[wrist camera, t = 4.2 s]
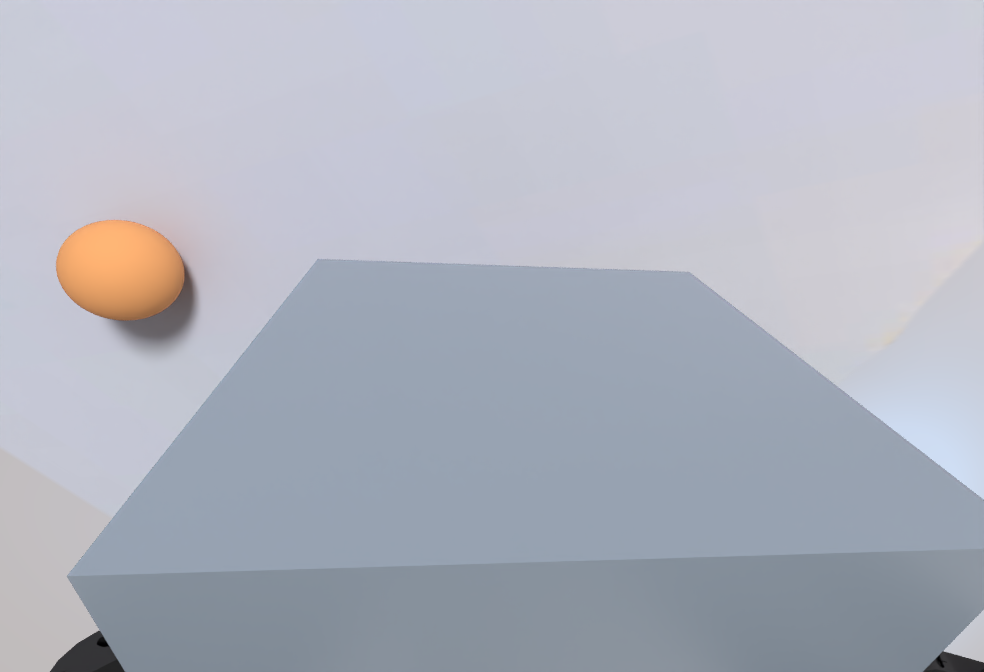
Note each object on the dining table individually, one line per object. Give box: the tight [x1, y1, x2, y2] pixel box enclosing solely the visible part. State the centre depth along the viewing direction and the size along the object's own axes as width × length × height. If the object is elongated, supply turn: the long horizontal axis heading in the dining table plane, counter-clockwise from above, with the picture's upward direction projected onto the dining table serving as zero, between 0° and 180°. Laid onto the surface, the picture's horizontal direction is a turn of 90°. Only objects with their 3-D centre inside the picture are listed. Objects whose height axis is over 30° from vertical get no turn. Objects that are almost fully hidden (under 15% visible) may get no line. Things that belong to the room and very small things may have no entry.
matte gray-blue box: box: [67, 259, 984, 672], centre depth 11 cm, size 10×10×9 cm
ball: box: [56, 220, 185, 320], centre depth 23 cm, size 5×5×5 cm
